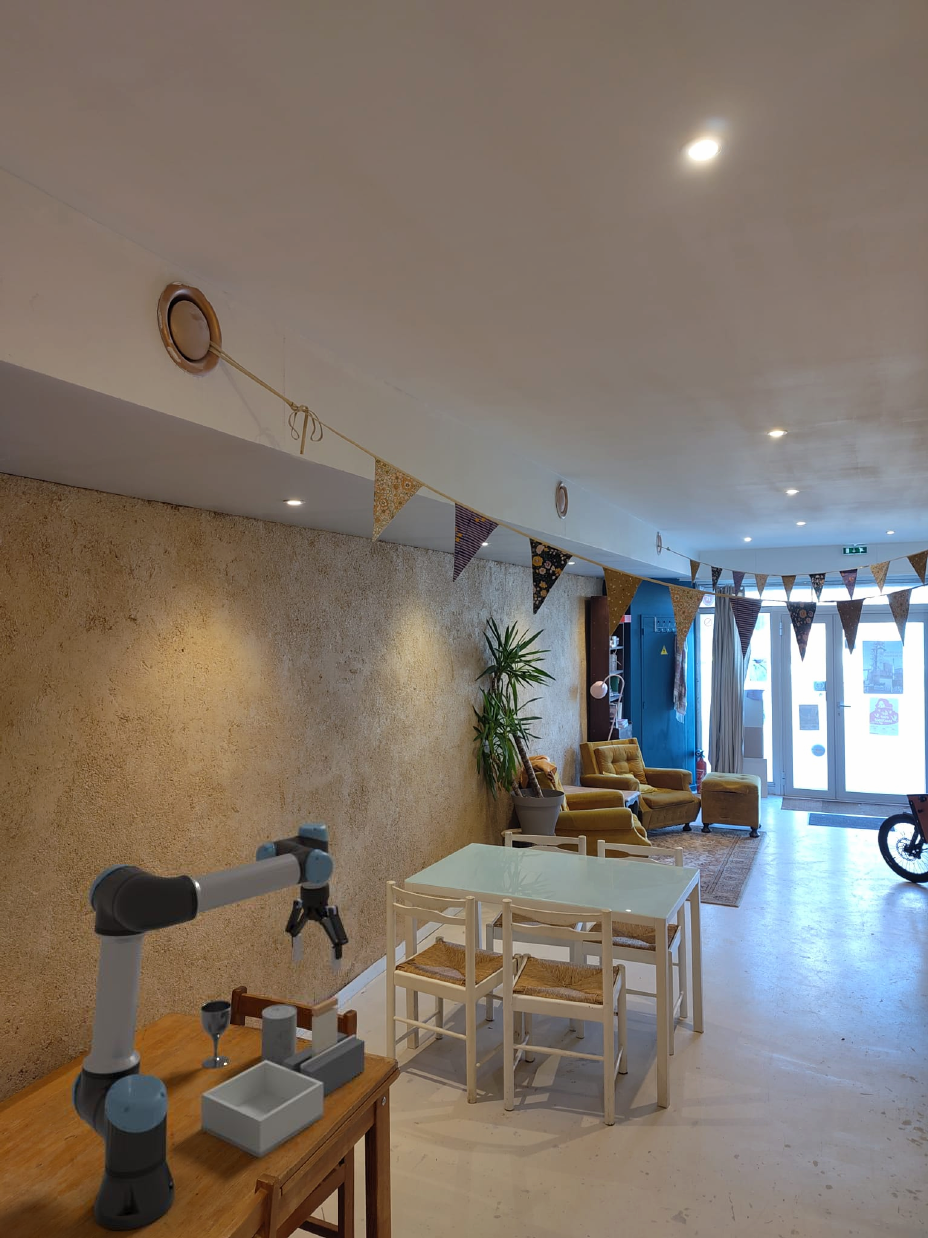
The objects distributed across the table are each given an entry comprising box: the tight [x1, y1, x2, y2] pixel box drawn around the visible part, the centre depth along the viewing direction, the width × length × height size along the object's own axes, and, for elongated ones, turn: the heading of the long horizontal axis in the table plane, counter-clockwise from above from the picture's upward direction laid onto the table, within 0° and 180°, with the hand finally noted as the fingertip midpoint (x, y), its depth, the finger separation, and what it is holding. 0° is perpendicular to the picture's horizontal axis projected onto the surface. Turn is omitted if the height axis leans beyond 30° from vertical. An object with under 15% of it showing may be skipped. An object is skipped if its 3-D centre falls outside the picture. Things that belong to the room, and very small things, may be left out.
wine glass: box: [200, 999, 232, 1070], centre depth 227 cm, size 8×8×15 cm
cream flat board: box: [311, 996, 339, 1058], centre depth 217 cm, size 8×2×16 cm, turn 146°
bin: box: [200, 1060, 324, 1159], centre depth 198 cm, size 20×20×8 cm
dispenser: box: [282, 1031, 365, 1098], centre depth 217 cm, size 20×10×9 cm, turn 146°
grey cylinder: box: [260, 1003, 298, 1066], centre depth 230 cm, size 10×10×12 cm
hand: (317, 966), depth 217 cm, fingers open, 13 cm apart
